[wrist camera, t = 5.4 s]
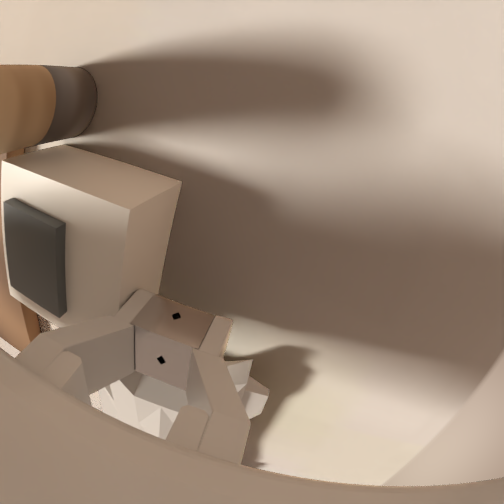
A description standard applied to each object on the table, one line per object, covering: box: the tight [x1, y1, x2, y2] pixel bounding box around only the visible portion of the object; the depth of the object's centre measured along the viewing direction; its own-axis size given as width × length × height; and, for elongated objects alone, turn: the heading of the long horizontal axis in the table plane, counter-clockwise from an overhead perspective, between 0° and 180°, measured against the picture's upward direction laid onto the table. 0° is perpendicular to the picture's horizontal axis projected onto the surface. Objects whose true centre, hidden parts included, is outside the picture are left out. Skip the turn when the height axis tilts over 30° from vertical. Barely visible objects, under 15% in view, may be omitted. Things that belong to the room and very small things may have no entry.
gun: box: [98, 359, 270, 440], centre depth 14 cm, size 18×4×10 cm
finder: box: [1, 144, 182, 328], centre depth 9 cm, size 5×5×3 cm
